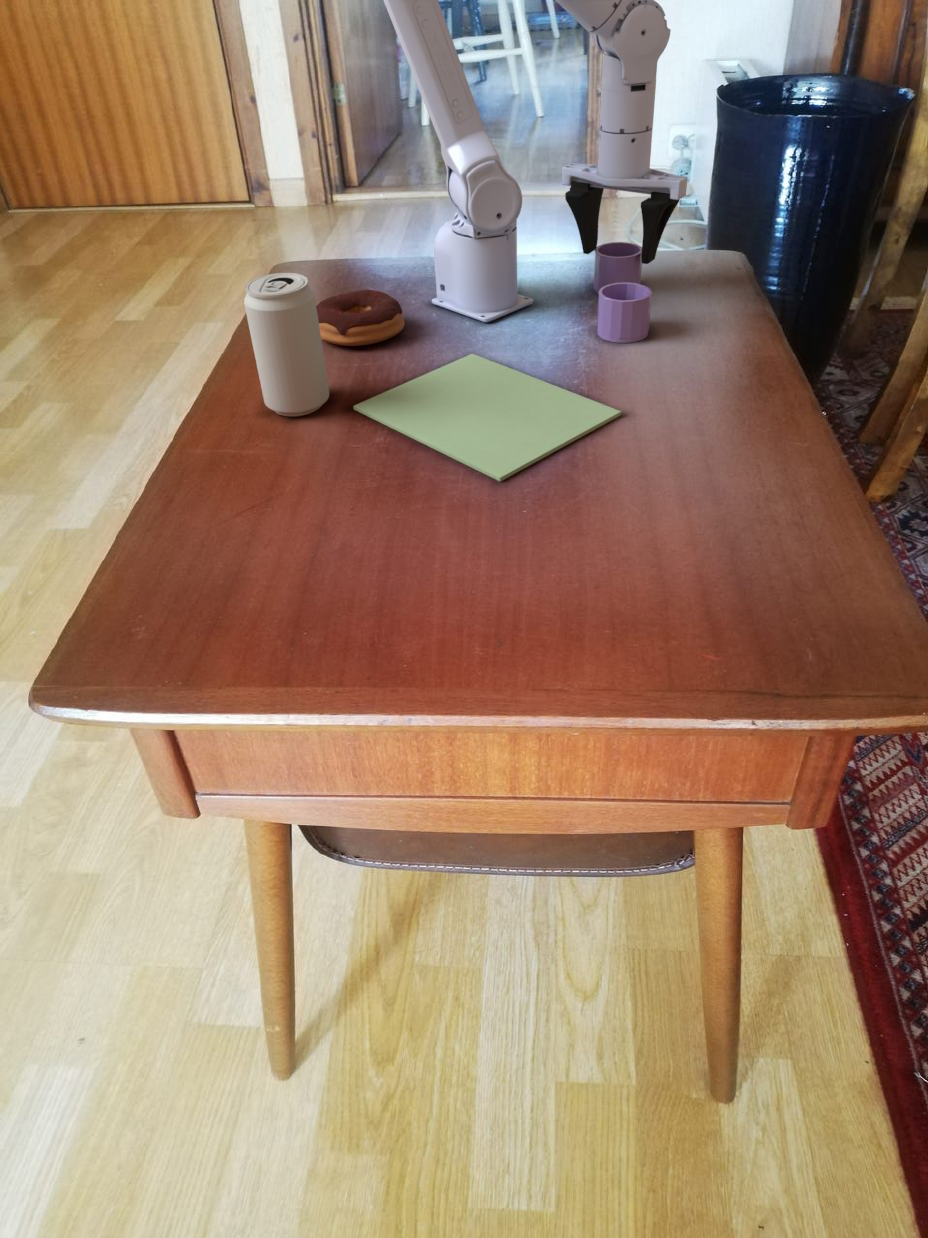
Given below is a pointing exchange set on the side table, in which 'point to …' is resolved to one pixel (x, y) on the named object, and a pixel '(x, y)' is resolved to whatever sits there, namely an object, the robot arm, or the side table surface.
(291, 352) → the beverage can
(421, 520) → the side table surface
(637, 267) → the purple plastic cup
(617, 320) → the faceted lilac cup
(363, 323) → the donut
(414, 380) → the placemat
